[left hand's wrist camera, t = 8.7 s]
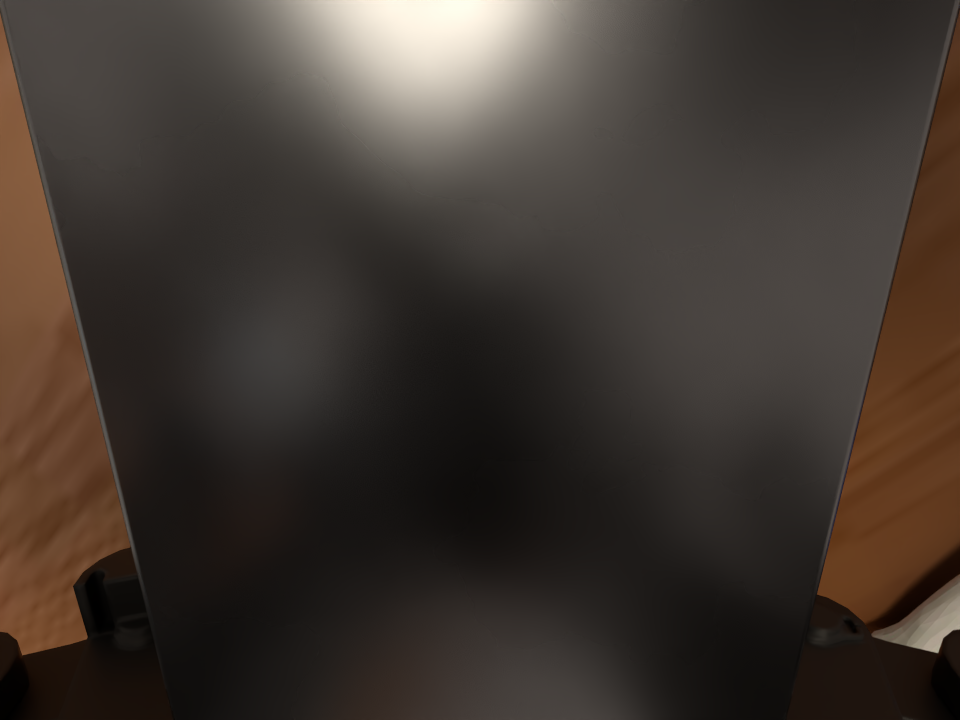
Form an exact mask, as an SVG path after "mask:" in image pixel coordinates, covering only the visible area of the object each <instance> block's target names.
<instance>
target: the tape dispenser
mask: <svg viewBox="0 0 960 720" xmlns="http://www.w3.org/2000/svg"><path fill="white" fill-rule="evenodd" d="M958 629H960V574H959V575H957V576H956V577H955V578H953V579H952V580H951V581H949V582H948V583H947V584H945V585H944V586H943V587H942V588H940V589H939V590H938V591H937V592H935V593H934V594H933V595H931V596H930V597H929V598H928V599H927V600H925V601H924V602H923V603H922V604H921V605H919V606H918V607H917V608H916V609H915V610H914V611H912V612H911V613H910V614H909V615H908V616H907V617H905V618H904V619H903V620H901V621H900V622H899V623H896V624H894V625H892V626H889V627H887V628H884V629H881V630H877V631H874V632H873V633H872V634H871V635H872V637H875V638H879V639H882V640H885V641H888V642H893V643H897V644H901V645H905V646H910V647H914V648H918V649H923V650H927V651H931V652H936V653H938V652H939V649H940V646H941V643H942V640H943V638H944V637H945V636H946V635H948V634H949V633H950V632H951V631H953V630H958Z"/></svg>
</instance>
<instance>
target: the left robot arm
mask: <svg viewBox="0 0 960 720" xmlns="http://www.w3.org/2000/svg"><path fill="white" fill-rule="evenodd" d="M73 588H74V591H75V595H76V598H77V601H78V605H79V608H80V612H81V615H82V618H83V622H84V625H85V629H86V632H87V635H88V638H87V639H86V640H83V641H80V642H77V643H73V644H70V645H66V646H61V647H57V648H53V649H48V650H44V651H40V652H36V653H31V654H27V655H23V656H22V653H21V651H20V648H19V645H18V642H17V640H16V639H14V638H13V637H12V636H11V635H9V634H8V633H5V632H0V720H173V717H172V713H171V709H170V705H169V701H168V697H167V693H166V689H165V685H164V680H163V676H162V672H161V668H160V664H159V660H158V656H157V652H156V648H155V644H154V640H153V635H152V631H151V627H150V623H149V619H148V615H147V611H146V607H145V603H144V599H143V595H142V590H141V586H140V582H139V578H138V574H137V570H136V566H135V562H134V558H133V554H132V550H131V548H127V549H123V550H120V551H118V552H116V553H113V554H111V555H109V556H107V557H105V558H103V559H101V560H99V561H98V562H96V563H95V564H94V565H92V566H91V567H90V568H88V569H87V570H86V571H84V572H83V573H82V575H81V576H80V577H79V579H78V580H77V582H76V583H75V584H74V586H73ZM786 720H960V629H958V630H953V631H951V632H950V633H949V634H948V635H946V636H945V637H944V638H943V640H942V643H941V646H940V649H939V652H938V653H936V652H931V651H927V650H923V649H918V648H914V647H910V646H905V645H901V644H897V643H893V642H888V641H885V640H882V639H879V638H875V637H872V635H871V634H870V632H869V630H868V629H867V627H866V626H865V624H864V623H863V621H862V620H861V619H859V618H858V617H857V616H856V615H855V614H853V613H852V612H851V611H850V610H849V609H848V608H846V607H844V606H842V605H840V604H838V603H837V602H835V601H833V600H831V599H829V598H827V597H823V596H820V595H816V600H815V604H814V608H813V612H812V616H811V620H810V624H809V628H808V632H807V636H806V640H805V645H804V649H803V653H802V657H801V661H800V665H799V669H798V673H797V677H796V681H795V685H794V690H793V694H792V698H791V702H790V706H789V710H788V714H787V718H786Z"/></svg>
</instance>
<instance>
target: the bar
mask: <svg viewBox="0 0 960 720" xmlns="http://www.w3.org/2000/svg"><path fill="white" fill-rule="evenodd" d="M959 10H960V0H0V14H1V18H2V22H3V26H4V30H5V35H6V39H7V43H8V47H9V51H10V55H11V59H12V63H13V67H14V71H15V75H16V79H17V84H18V88H19V92H20V96H21V100H22V104H23V108H24V112H25V116H26V120H27V124H28V129H29V133H30V137H31V141H32V145H33V149H34V153H35V157H36V161H37V165H38V169H39V174H40V178H41V182H42V186H43V190H44V194H45V198H46V202H47V206H48V210H49V214H50V218H51V223H52V227H53V231H54V235H55V239H56V243H57V247H58V251H59V255H60V259H61V263H62V268H63V272H64V276H65V280H66V284H67V288H68V292H69V296H70V300H71V304H72V308H73V312H74V317H75V321H76V325H77V329H78V333H79V337H80V341H81V345H82V349H83V353H84V357H85V362H86V366H87V370H88V374H89V378H90V382H91V386H92V390H93V394H94V398H95V402H96V407H97V411H98V415H99V419H100V423H101V427H102V431H103V435H104V439H105V443H106V447H107V451H108V456H109V460H110V464H111V468H112V472H113V476H114V480H115V484H116V488H117V492H118V496H119V501H120V505H121V509H122V513H123V517H124V521H125V525H126V529H127V533H128V537H129V541H130V546H131V550H132V554H133V558H134V562H135V566H136V570H137V574H138V578H139V582H140V586H141V590H142V595H143V599H144V603H145V607H146V611H147V615H148V619H149V623H150V627H151V631H152V635H153V640H154V644H155V648H156V652H157V656H158V660H159V664H160V668H161V672H162V676H163V680H164V685H165V689H166V693H167V697H168V701H169V705H170V709H171V713H172V717H173V720H786V718H787V714H788V710H789V706H790V702H791V698H792V694H793V690H794V685H795V681H796V677H797V673H798V669H799V665H800V661H801V657H802V653H803V649H804V645H805V640H806V636H807V632H808V628H809V624H810V620H811V616H812V612H813V608H814V604H815V600H816V595H817V591H818V587H819V583H820V579H821V575H822V571H823V567H824V563H825V559H826V554H827V550H828V546H829V542H830V538H831V534H832V530H833V526H834V522H835V518H836V514H837V509H838V505H839V501H840V497H841V493H842V489H843V485H844V481H845V477H846V473H847V469H848V464H849V460H850V456H851V452H852V448H853V444H854V440H855V436H856V432H857V428H858V424H859V419H860V415H861V411H862V407H863V403H864V399H865V395H866V391H867V387H868V383H869V379H870V374H871V370H872V366H873V362H874V358H875V354H876V350H877V346H878V342H879V338H880V333H881V329H882V325H883V321H884V317H885V313H886V309H887V305H888V301H889V297H890V293H891V288H892V284H893V280H894V276H895V272H896V268H897V264H898V260H899V256H900V252H901V248H902V243H903V239H904V235H905V231H906V227H907V223H908V219H909V215H910V211H911V207H912V203H913V198H914V194H915V190H916V186H917V182H918V178H919V174H920V170H921V166H922V162H923V158H924V153H925V149H926V145H927V141H928V137H929V133H930V129H931V125H932V121H933V117H934V113H935V108H936V104H937V100H938V96H939V92H940V88H941V84H942V80H943V76H944V72H945V67H946V63H947V59H948V55H949V51H950V47H951V43H952V39H953V35H954V31H955V27H956V22H957V18H958V14H959Z"/></svg>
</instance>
